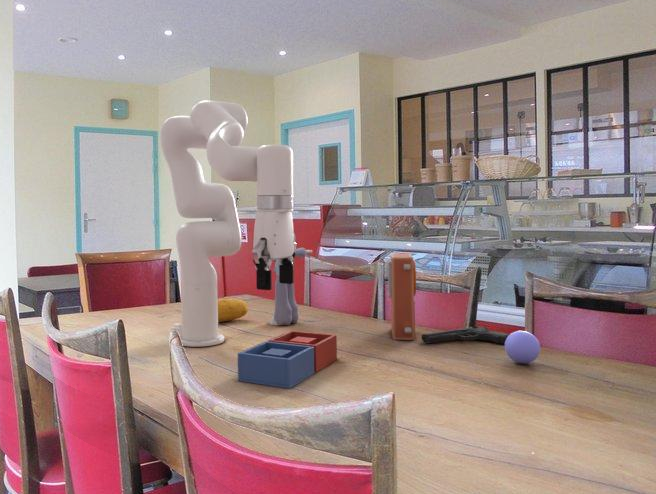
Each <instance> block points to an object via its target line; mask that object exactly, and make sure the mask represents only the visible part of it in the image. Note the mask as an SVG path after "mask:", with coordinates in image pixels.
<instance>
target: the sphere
mask: <svg viewBox="0 0 656 494" xmlns="http://www.w3.org/2000/svg"><path fill="white" fill-rule="evenodd" d="M509 334H510V335H509V336H508V337H507V339H506V341H505V344H504V351H505V353H506V355H507V356H508V358H509V359H511V360H512V361H513V362H515V363H518V364H521V365H522V364H523V365H526V364H531V363H533V362H535V361H536V360H537V359H538V357H539V355H540V352H541V344H540V341H539V339H538V338H537V337H536V336H535V335H534V334H532V333H531V332H529V331H525V330H516V331H513V332H511V333H509Z"/></svg>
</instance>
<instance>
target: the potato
mask: <svg viewBox="0 0 656 494" xmlns="http://www.w3.org/2000/svg"><path fill="white" fill-rule="evenodd" d="M248 312H249V305H248V303H246V301H244V300H241V299H235V298H220V299H218V323H224V322H231V321H235V320H238V319H240V318H242V317H245V316H246V315H247V314H248Z"/></svg>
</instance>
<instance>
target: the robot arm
mask: <svg viewBox="0 0 656 494" xmlns="http://www.w3.org/2000/svg"><path fill="white" fill-rule="evenodd" d="M248 119H249V117H248V114H247V111H246V110H245V108H244V107H243V105H241V104H239V103H238V102H229V101H228V102H227V101H220V100H219V101H218V100H209V99H208V100H202V101H199V102H197V103H196V104H194V106H193V107H192V109H191V110H190V113H189V115H176V116H170V117H169V118H167V119H165V120H164V121H163V123H162V125H161V129H160V146H161V147H160V148H161V151H162V153H163V157H164V160H165V162H166V163H167V165H168V166H167V167H168V169H169V171H170V176H171V183H172V188H173V194H174V195H173V196H174V200H175V205H176V206H175V207H176V209H177V212H178V214H179V215H180V216H181V217H183V218H185V219H214V220H201V221H199V220H196V221H189V222H186V223H183V224H182V225H181V226H179V228H178V229H177V231H176V235H175V241H176V248H177V253H178V256H179V257H178V259H179V268H180V269H179V270H180V290H181V291H180V297H181V298H180V299H181V300H180V302H181V303H180V305H181V323H173V325H172V327H171V329H170V330H171V331H172V330H176V331H178V332H179V333H178V332H177V333H178V335H179V334H180V337H181V340H182V344H183V346H182V347H189V348H190V347H193V348H198V347H199V348H202V347H210V346H216V345H220V344H222V343H224V342H225V335H224V334H221V333H219V322H218V300H219V299H218V294H219V293H218V274H217V271H216V269H215V267H214V265H213V264H212V262H211V260H210V259H209V258H217V257H230V256H234V255H236V254H237V253H238V252H239V251H240V250H241V247H242V230H241V225H240V220H239V216H238V209H237V205H236V200H235V197H234V194H233V192H232V189H230V187H229V186H228V185H226V184H224V183H219V182H207V181H206V180H205V178H204V177H205V176H204V172H203V168H202V167H203V166H202V165H201V163H200V162H199V160H198V159H197V157H195V155H194V154H193V153H192V152H190V151H189V149H195V150H196V149H198V150H206V158H207V161H208V165H209V166H210V167H211V168H212V170H213V171H214V172H215V173H216V174H217V175H218V176H219V177H220V178H222V179H223V180H226V181H228V182H253V183H254V182H256V213H255V219H254V226H253V228H254V229H253V244H252V245H253V246H252V249H251V254H252V255H251V256H252V258H253V261H252V262H253V264H254V269H255V271H256V275H255V276H256V289H257V290H259V291H260V290H261V291H271V290H272V288H273V287H272V280H273V279H272V270H271V266H272V263H273V262H274V261H273V260H278V259H279V260H280V262H281V264H282V265H279V282H280V283H285V284H293V283H294V270H293V267H294V265H295V258H296V257H295V255H296V254H295V250H296V249H297V243H296V241H295V242H294V234H295V231H294V220H293V219H294V218H293V212H294V152H293V149H292V147H291V146H289V145H286V144H265V145H261V146H245V145H242V142H243V140H244V133H245V131H246V129H247V127H248ZM265 261H267V262H266V263H265Z"/></svg>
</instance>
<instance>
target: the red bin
mask: <svg viewBox="0 0 656 494" xmlns="http://www.w3.org/2000/svg"><path fill="white" fill-rule="evenodd" d="M296 337H308V338H316V344H314V345H312V344H303V343H294V342H289V340H291V339H294V338H296ZM267 342H275V343H285V344H294V345H303V346H311V347H314V373H318V372H319V371H321V370H322V369H324V368H325V367H327V366H329V365H330V364H332V363H333V362H335V361H337V360H338V344H337V343H338V341H337V334H330V333H320V332H311V331H300V330H290V331H287V332H284V333H282V334H280V335H277V336H276V337H273V338H271V339H268V340H267Z"/></svg>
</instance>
